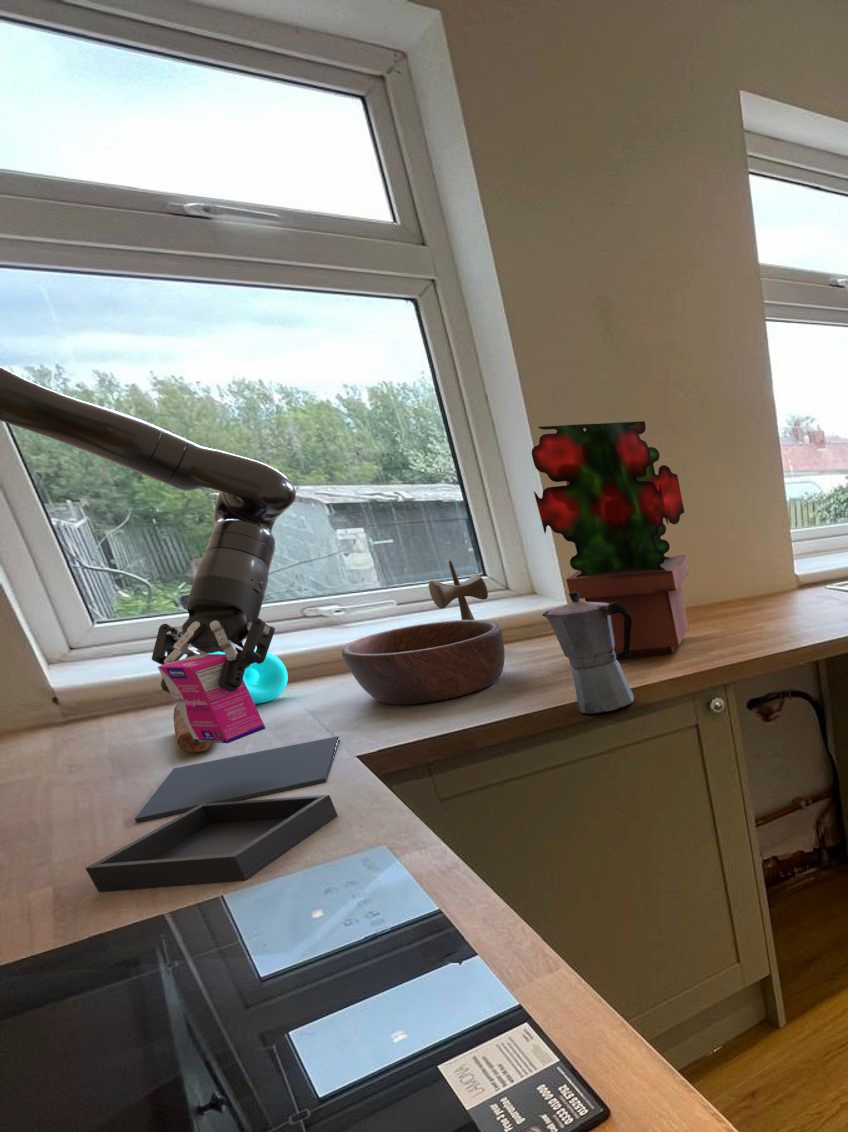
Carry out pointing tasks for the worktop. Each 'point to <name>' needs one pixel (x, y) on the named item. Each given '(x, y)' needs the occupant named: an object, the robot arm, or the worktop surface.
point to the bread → (186, 735)
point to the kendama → (458, 592)
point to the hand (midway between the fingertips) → (199, 690)
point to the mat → (241, 777)
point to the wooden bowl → (427, 661)
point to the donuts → (265, 678)
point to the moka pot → (593, 652)
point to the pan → (213, 843)
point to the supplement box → (210, 700)
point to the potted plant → (617, 527)
